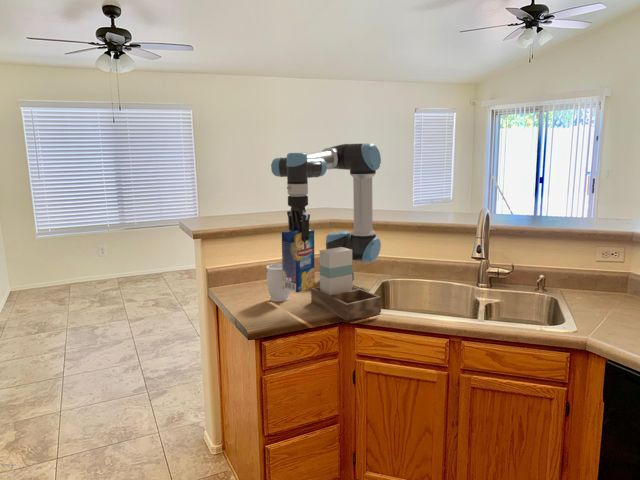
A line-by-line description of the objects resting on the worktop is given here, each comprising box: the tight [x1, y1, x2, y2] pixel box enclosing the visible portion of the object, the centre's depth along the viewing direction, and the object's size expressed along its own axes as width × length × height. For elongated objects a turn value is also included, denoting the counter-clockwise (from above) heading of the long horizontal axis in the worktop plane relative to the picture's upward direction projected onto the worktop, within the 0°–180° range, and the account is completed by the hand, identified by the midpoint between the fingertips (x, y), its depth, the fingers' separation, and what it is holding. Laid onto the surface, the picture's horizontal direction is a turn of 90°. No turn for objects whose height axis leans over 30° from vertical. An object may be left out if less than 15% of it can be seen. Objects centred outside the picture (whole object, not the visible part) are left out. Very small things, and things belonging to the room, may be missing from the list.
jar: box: [266, 262, 291, 304], centre depth 195 cm, size 11×10×15 cm
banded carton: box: [319, 247, 354, 295], centre depth 187 cm, size 11×7×22 cm, turn 122°
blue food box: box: [281, 228, 316, 294], centre depth 175 cm, size 7×11×22 cm, turn 143°
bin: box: [310, 285, 382, 324], centre depth 183 cm, size 16×25×7 cm, turn 32°
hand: (299, 257), depth 175 cm, fingers closed on blue food box, 3 cm apart
